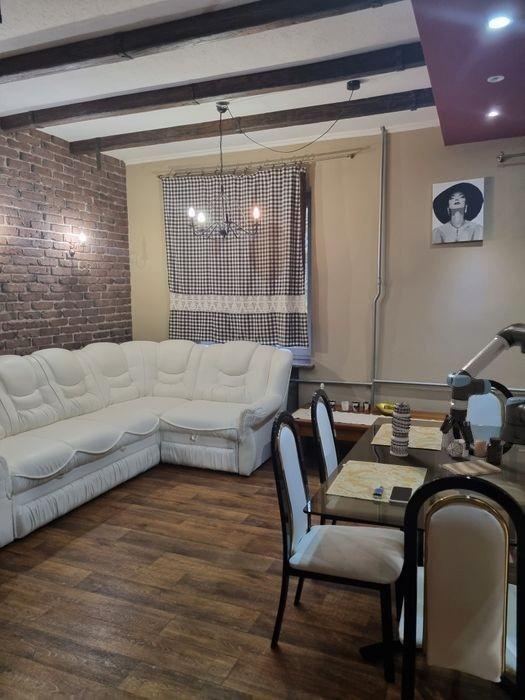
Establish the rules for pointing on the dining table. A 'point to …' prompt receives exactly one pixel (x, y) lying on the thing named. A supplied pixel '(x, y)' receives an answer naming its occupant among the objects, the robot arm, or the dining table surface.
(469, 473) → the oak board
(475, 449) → the terracotta cylinder
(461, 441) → the grey block
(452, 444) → the game die
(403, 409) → the tower model
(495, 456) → the supplement bottle
